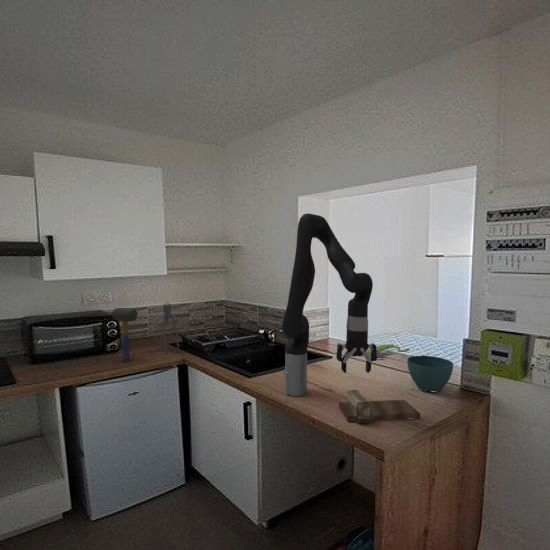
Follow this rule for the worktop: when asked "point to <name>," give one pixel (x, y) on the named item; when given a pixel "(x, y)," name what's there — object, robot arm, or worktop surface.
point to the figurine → (383, 347)
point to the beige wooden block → (359, 406)
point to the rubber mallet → (125, 327)
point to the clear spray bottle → (166, 317)
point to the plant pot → (430, 372)
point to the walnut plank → (383, 410)
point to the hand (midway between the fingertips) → (356, 372)
